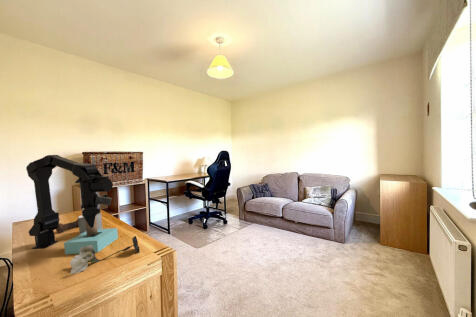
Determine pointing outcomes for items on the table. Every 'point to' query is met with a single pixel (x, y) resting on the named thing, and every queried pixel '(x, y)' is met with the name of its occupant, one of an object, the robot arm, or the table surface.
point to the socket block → (91, 241)
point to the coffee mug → (83, 223)
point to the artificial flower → (92, 257)
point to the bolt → (66, 226)
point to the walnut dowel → (91, 229)
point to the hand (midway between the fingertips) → (91, 226)
